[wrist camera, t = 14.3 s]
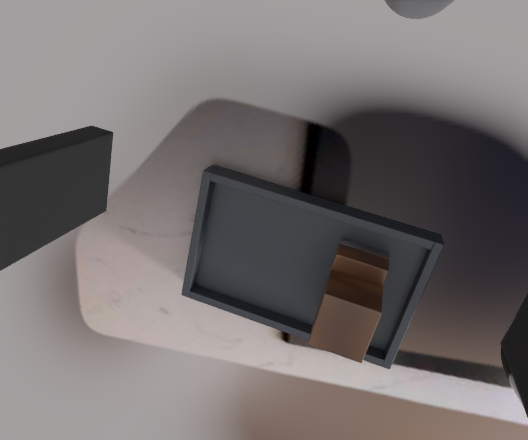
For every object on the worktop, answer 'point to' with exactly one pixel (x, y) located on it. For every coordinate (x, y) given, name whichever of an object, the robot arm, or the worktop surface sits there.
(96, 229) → the worktop surface
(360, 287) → the brown t-shaped block
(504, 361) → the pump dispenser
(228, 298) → the tray
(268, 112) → the worktop surface
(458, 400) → the worktop surface
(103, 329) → the worktop surface
